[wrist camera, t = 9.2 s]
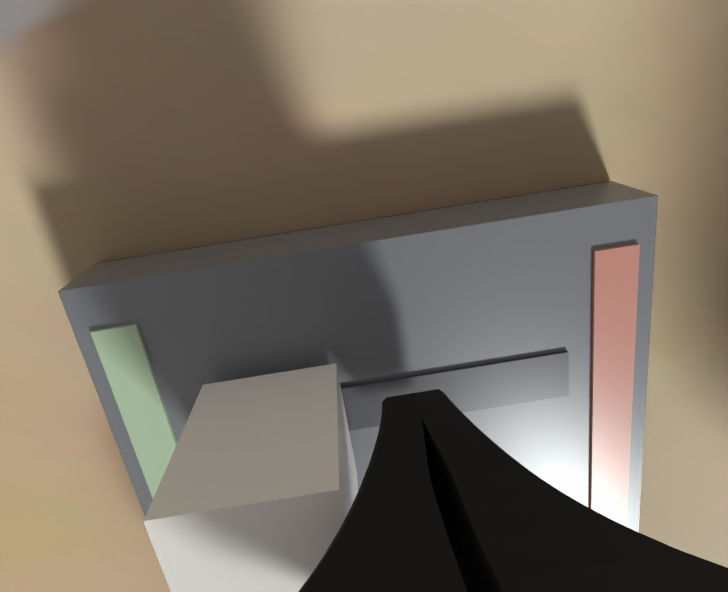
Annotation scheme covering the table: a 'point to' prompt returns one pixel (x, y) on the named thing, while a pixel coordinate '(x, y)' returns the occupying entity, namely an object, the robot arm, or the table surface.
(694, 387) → the table surface
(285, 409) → the switch
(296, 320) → the panel
